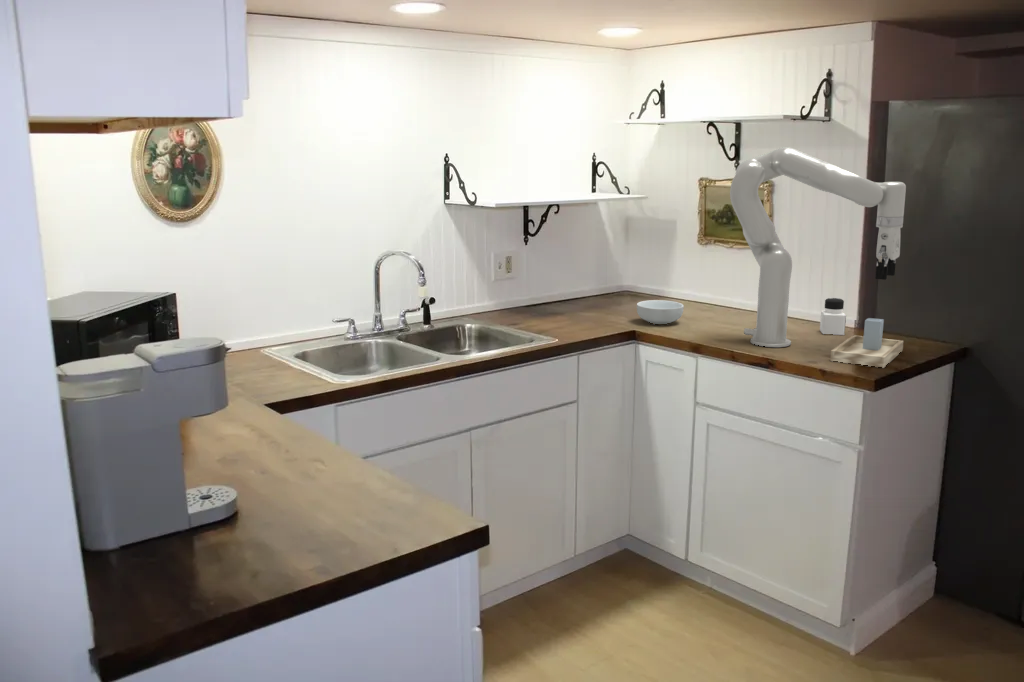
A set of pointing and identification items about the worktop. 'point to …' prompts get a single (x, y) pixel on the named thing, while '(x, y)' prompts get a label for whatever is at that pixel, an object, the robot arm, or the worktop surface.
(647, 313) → the cereal bowl
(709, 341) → the worktop surface
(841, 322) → the medicine bottle
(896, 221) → the robot arm
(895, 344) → the tray
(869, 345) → the block
